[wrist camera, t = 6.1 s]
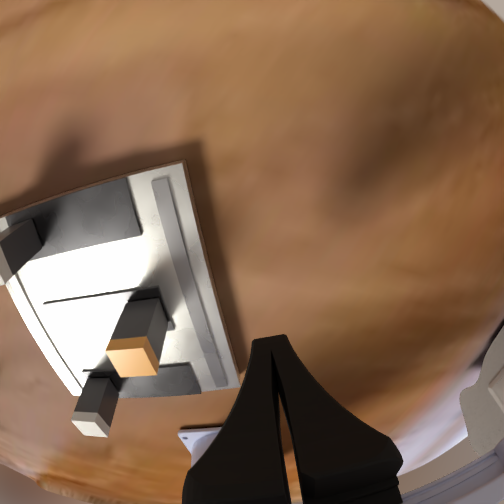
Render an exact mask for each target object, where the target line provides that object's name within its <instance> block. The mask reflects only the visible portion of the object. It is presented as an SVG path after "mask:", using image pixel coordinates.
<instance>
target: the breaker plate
mask: <svg viewBox="0 0 504 504" xmlns="http://www.w3.org/2000/svg"><path fill="white" fill-rule="evenodd" d="M29 219H32V220H33V223H34V226H35V229H36V232H37V234H38V237H39V240H40V243H41V245H42V249H41V250H40V251H39V252H38V253H37V254H36V255H34V256H33V257H32V258H31V259H30V260H29V261H28V262H27V263H26V264H25V265H24V266H23V267H22V268H21V269H20V270H19V271H18V272H17V273H16V274H15V275H14V276H13V277H12V278H11V279H10V280H9V281H8V282H7V283H6V286H7V289H8V291H9V293H10V295H11V297H12V299H13V301H14V303H15V305H16V306H17V308H18V310H19V312H20V314H21V316H22V318H23V319H24V321H25V323H26V325H27V326H28V328H29V330H30V332H31V333H32V335H33V337H34V338H35V340H36V342H37V343H38V345H39V347H40V348H41V350H42V351H43V353H44V354H45V356H46V358H47V359H48V361H49V362H50V364H51V365H52V367H53V368H54V369H55V371H56V372H57V374H58V375H59V377H60V378H61V379H62V381H63V382H64V384H65V385H66V386H67V388H68V389H69V390H70V392H71V393H72V394H73V395H77V396H80V394H81V392H82V389H83V387H84V384H85V382H86V379H87V378H109V379H110V380H111V382H112V384H113V385H114V387H115V388H116V390H117V391H118V393H119V397H118V398H143V397H165V396H180V395H192V394H201V392H202V391H212V390H221V389H229V388H237V387H241V386H240V373H239V370H238V367H237V363H236V360H235V356H234V353H233V349H232V346H231V342H230V338H229V335H228V331H227V328H226V324H225V320H224V317H223V313H222V309H221V305H220V302H219V298H218V294H217V290H216V286H215V282H214V278H213V275H212V271H211V267H210V263H209V259H208V255H207V251H206V246H205V242H204V238H203V234H202V230H201V226H200V221H199V217H198V213H197V209H196V204H195V200H194V195H193V191H192V186H191V182H190V177H189V173H188V168H187V163H186V159H185V160H180V161H176V162H171V163H167V164H163V165H159V166H154V167H150V168H146V169H142V170H139V171H135V172H131V173H127V174H124V175H120V176H116V177H113V178H109V179H106V180H102V181H99V182H96V183H92V184H89V185H86V186H83V187H79V188H76V189H73V190H70V191H67V192H64V193H61V194H58V195H55V196H52V197H49V198H46V199H44V200H41V201H38V202H35V203H33V204H30V205H27V206H25V207H22V208H19V209H17V210H14V211H12V212H9V213H7V214H4V215H2V216H0V233H1V232H2V231H4V230H5V229H6V228H8V227H9V226H12V225H14V224H17V223H20V222H23V221H26V220H29ZM155 298H159V300H160V303H161V305H162V308H163V311H164V313H165V316H166V318H167V321H168V328H167V332H166V337H165V341H164V345H163V350H162V354H161V359H160V363H159V368H158V373H157V375H152V376H136V377H120V376H119V374H118V372H117V371H116V369H115V367H114V366H113V364H112V362H111V361H110V359H109V357H108V355H107V354H106V352H105V350H106V347H107V345H108V343H109V340H110V338H111V336H112V333H113V331H114V329H115V326H116V324H117V322H118V320H119V317H120V315H121V313H122V311H123V309H124V306H125V304H126V303H127V302H134V301H141V300H148V299H155Z"/></svg>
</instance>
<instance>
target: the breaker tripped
mask: <svg viewBox="0 0 504 504" xmlns="http://www.w3.org/2000/svg"><path fill="white" fill-rule="evenodd" d="M167 328H168V321H167V318H166V316H165V313H164V311H163V308H162V305H161V303H160V300H159V298H155V299H148V300H141V301H134V302H127V303H126V304H125V306H124V309H123V311H122V313H121V315H120V317H119V320H118V322H117V324H116V326H115V329H114V331H113V333H112V336H111V338H110V340H109V343H108V345H107V347H106V350H105V352H106V354H107V355H108V357H109V359H110V361H111V362H112V364H113V366H114V367H115V369H116V371H117V372H118V374H119V376H120V377H136V376H152V375H157V373H158V368H159V363H160V359H161V354H162V350H163V345H164V341H165V337H166V332H167Z"/></svg>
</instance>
